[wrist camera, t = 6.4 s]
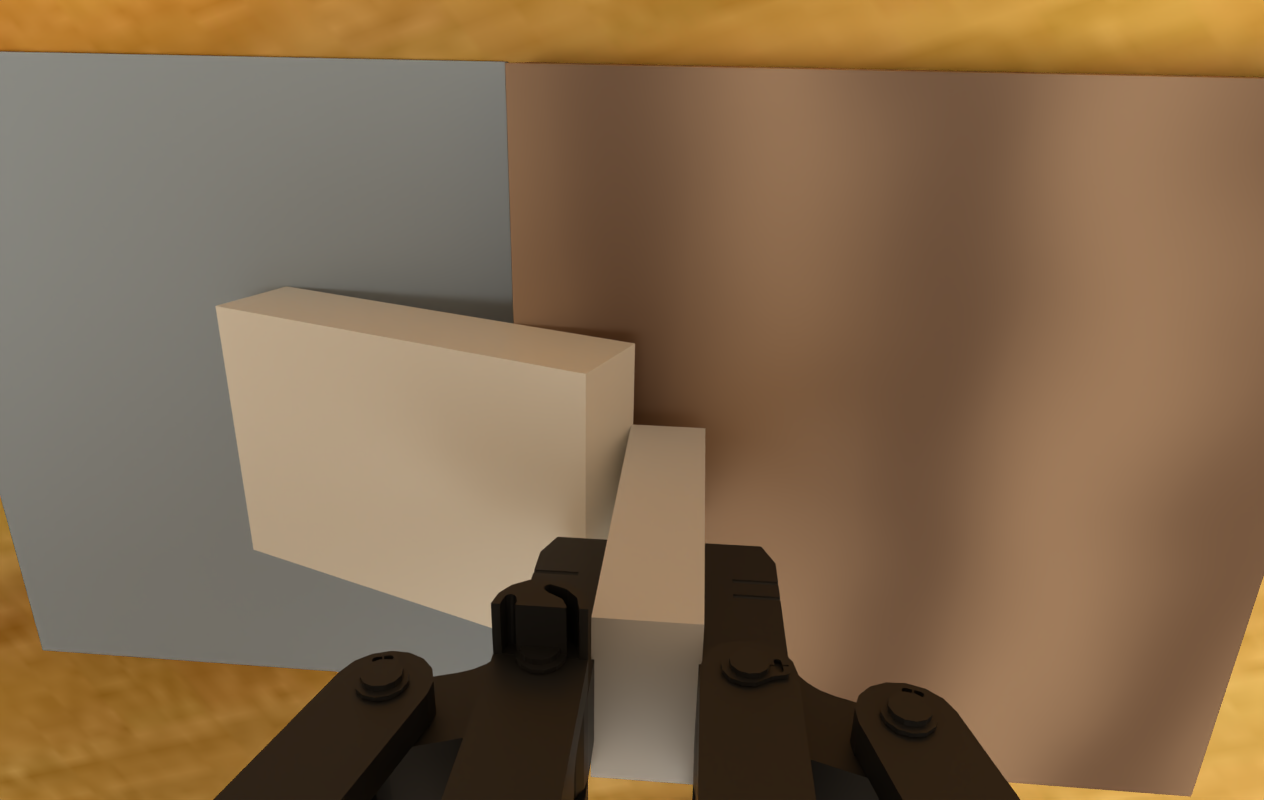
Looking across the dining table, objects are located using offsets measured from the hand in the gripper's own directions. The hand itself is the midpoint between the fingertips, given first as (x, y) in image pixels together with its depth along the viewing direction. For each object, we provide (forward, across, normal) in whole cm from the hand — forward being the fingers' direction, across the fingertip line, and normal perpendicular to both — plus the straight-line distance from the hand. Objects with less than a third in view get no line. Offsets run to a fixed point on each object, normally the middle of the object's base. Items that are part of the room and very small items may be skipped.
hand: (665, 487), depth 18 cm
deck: (+4, +5, 0) cm, 6 cm away
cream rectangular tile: (+2, -5, 0) cm, 5 cm away
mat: (+4, -11, 0) cm, 11 cm away
